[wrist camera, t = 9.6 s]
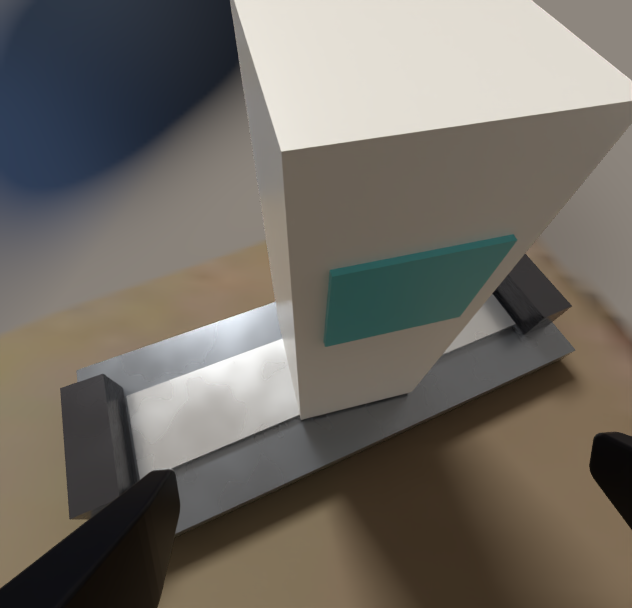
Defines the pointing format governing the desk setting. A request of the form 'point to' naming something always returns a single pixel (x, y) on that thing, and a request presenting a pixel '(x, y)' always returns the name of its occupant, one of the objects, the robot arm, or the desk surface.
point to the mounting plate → (273, 404)
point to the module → (409, 170)
